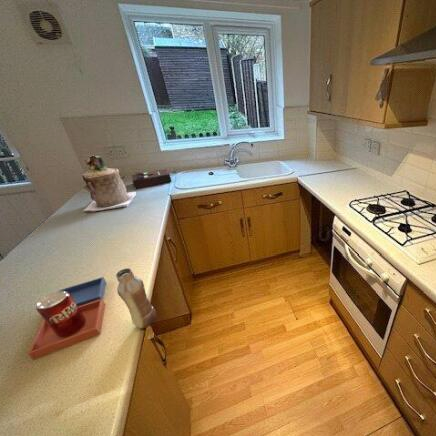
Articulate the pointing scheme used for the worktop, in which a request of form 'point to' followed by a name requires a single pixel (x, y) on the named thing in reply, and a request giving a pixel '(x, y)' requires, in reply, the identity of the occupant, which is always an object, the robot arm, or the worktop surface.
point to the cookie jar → (105, 186)
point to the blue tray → (87, 291)
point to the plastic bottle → (135, 298)
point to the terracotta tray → (51, 342)
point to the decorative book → (151, 179)
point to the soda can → (61, 313)
